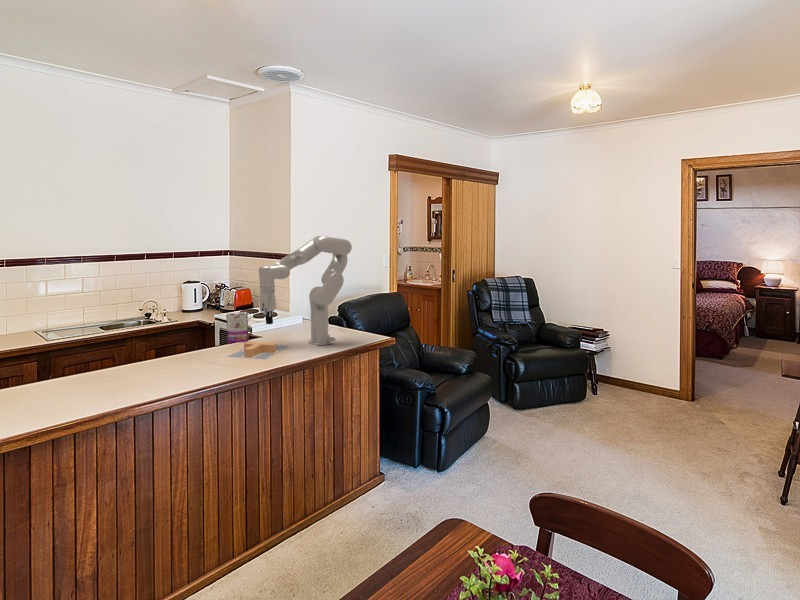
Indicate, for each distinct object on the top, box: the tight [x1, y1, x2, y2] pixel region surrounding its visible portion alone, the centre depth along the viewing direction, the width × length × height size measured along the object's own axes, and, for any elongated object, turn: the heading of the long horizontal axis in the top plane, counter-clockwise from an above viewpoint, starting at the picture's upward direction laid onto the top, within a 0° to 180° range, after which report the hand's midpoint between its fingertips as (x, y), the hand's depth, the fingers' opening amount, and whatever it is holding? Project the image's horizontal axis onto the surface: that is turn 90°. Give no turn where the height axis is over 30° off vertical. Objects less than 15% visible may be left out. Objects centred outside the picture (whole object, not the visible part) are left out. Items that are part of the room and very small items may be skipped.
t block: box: [243, 341, 278, 357], centre depth 260 cm, size 16×15×4 cm
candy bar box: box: [225, 311, 249, 344], centre depth 288 cm, size 11×5×16 cm, turn 105°
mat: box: [227, 344, 291, 360], centre depth 266 cm, size 20×30×1 cm, turn 169°
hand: (269, 323), depth 274 cm, fingers closed
